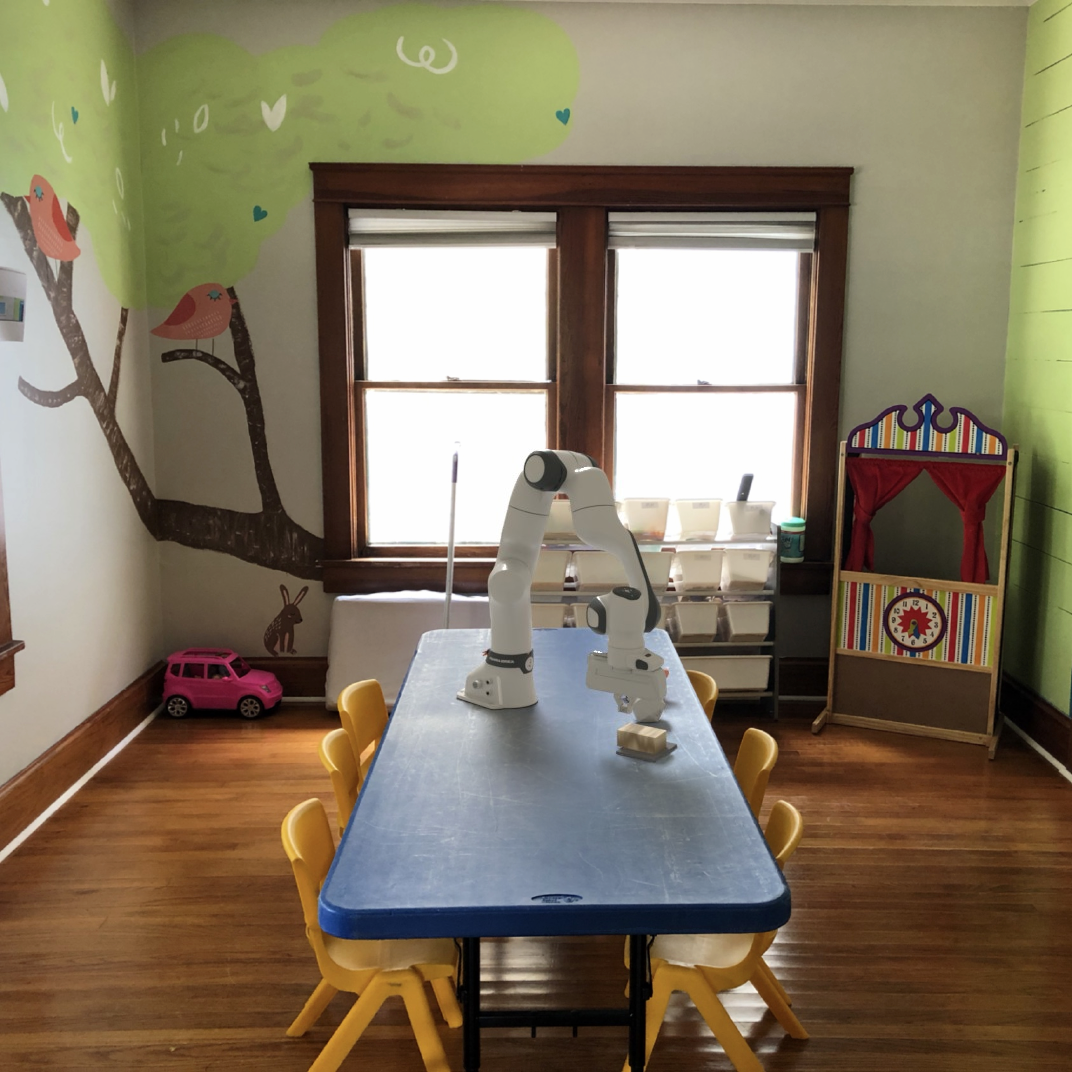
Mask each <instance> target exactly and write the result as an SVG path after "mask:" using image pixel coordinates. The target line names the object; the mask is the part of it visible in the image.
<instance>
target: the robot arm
mask: <svg viewBox="0 0 1072 1072" xmlns="http://www.w3.org/2000/svg"><path fill="white" fill-rule="evenodd" d="M563 494H564V495H566V496H567V497H568V500H569V504H570V505H569V506H570V512H571V513H570V514H571V521H572V524H573V525H572V526H573V530H574V533H575V535H576V536H577V538H578V539H579V540H580V541H582V542H583V543H584V544H586V545H587V546H589V547H592V548H594V549H596V550H600V551H603V552H605V553H609V554H610V555H613V556H614V557H616V559H618V561H620V563H621V565H622V568H623V570H624V573H625V576H626V580H627V582H628V583H627V584H628V586H627V585H625V586H622V585H621V586H616V587H614V588H612V589H611V590H610V592H609V593H607V594H603V595H599V596H598V595H597V596H594V597H593V598H592V599H591V600H590V601H589V603H588V604H587V607H586V613H585V614H586V615H585V616H586V623H587V626H588V628H590V630H591V631H593V632H594V633H595V634H596V635H603V636H607V638H608V639H607V643H606V645H607V646H606V647H607V651H606V652H604V651H603V652H602V651H601V652H600V651H598V650H593V651H590V653H588V654H587V657H586V658H587V659H586V661H587V662H586V663H587V669H586V674H585V685H586V687H587V688H588V689H589V690H594V691H598V692H604V693H610V694H613V699H614V701H615V703H616V704H617V705H616V706H617V712H618V713H623V714H625V715H630V714H632V713H633V711H632V705H633V704H634V702H635V701H636V699H637V698H639V699H645V700H650V701H655V702H659V701H661V700H662V699H663V700H664V699H665V697H666V696H667V694H668V693H667V692H668V689H667V688H668V687H667V685H668V684H667V678H666V674H665V671H664V670H663V669H664V668H662V667H663V666H664V664H665V659H664V657H663V656H661V655H659V654H658V653H655V652H654V651H651V650H650V649H648V648H646V642H645V638H644V634H645V633H646V634H647V633H648V634H649V633H651V632H653V630H654V629H656V627H657V626H658V625H659V622H660V621H661V620H662V608H661V605H660V602H659V600H658V597H657V596H656V594H655V592H654V589H653V587H652V585H651V581H650V577H649V576H648V572H647V569H646V566H645V563H644V560H643V558H642V553H641V551H640V549H639V546H638V544H637V543H638V542H637V541H636V538H635V536H634V534H633V532H632V531H631V530H630V529H628V528H626V527H625V525H624V524H623V523H622V521H621V520H620V518H619V516H618V513H617V509H616V504H615V503H616V502H615V498H614V494H613V490H612V486H611V483H610V481H609V478H608V476H607V473H606V472H605V471H604V470H602V469H601V468H600V465H599V464H598V461H597V460H595V458H594V457H592V456H590V455H588V454H586V453H583V452H582V453H581V452H575V451H573V450H565V449H564V450H563V449H562V450H561V449H559V450H557V449H547V448H540V449H537V450H533V451H532V452H531V453H529V454H528V456H527V457H526V459H525V461H524V464H523V470H521V472H520V473H519V475H518V477H517V479H516V481H515V484H514V487H513V488H512V492H511V495H510V498H509V501H508V506H507V510H506V513H505V517H504V521H503V524H502V525H503V526H502V529H501V533H500V539H499V547H498V550H497V554H496V555H497V556H496V560H495V564H494V566H493V569H492V571H491V572H490V573H489V575H488V579H487V591H488V592H487V593H488V605H489V606H488V607H489V617H490V647H489V648H488V649H487V650H485V651H482V652H481V653H483V654H482V657H484V656H486V658H485V661H484V662H482V663H481V664H479V665H478V666H477V667H475V668H474V669H473V670H471V671H470V672H469V673H468V674H467V676H466V679H465V684H464V687H463V688H460V690H458V691H457V692H456V698H457V699H460V700H463V701H466V702H470V703H472V704H475V705H478V706H481V707H485V708H487V709H490V710H500V709H501V710H502V709H516V708H524V707H525V708H526V707H529V706H531V705H532V706H533V705H534V704H536V703H537V702H538V700H539V698H538V695H537V690H536V685H535V680H534V679H535V678H534V664H535V662H534V659H535V658H534V648H533V641H532V640H533V618H532V604H531V588H532V587H531V586H532V584H533V582H534V579H535V574H536V571H537V565H538V563H539V557H540V553H541V548H542V546H543V541H544V536H545V532H546V530H547V529H546V528H547V524H548V521H549V517H550V513H551V508H552V504H553V501H554V499H555V497H556V496H557V495H563ZM622 697H626V699H627V701H628V703H627V704H626V703H624V701H623V699H622Z"/></svg>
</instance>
